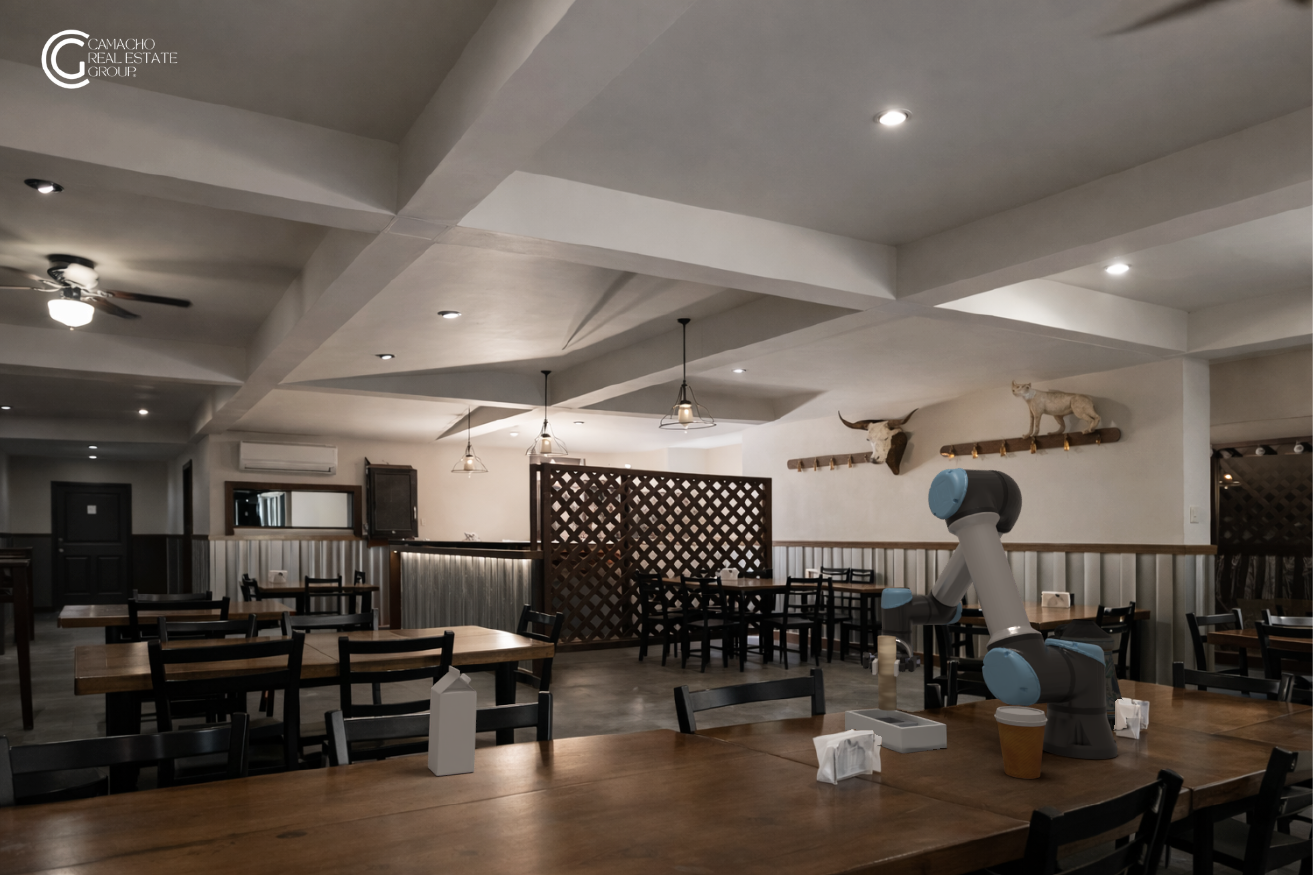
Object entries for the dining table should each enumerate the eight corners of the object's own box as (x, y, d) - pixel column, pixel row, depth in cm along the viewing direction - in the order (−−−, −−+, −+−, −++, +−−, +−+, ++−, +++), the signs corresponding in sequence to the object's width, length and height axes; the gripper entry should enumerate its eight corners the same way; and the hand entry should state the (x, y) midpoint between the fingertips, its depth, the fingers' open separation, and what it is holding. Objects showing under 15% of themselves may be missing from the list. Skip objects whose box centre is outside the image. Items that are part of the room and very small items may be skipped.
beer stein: (1126, 734, 211) (1122, 625, 213) (1037, 724, 221) (1033, 620, 223) (1130, 721, 225) (1126, 619, 228) (1046, 712, 235) (1043, 615, 237)
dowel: (900, 709, 203) (899, 637, 204) (885, 711, 201) (885, 638, 203) (889, 706, 206) (888, 635, 208) (874, 707, 205) (874, 635, 206)
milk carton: (436, 777, 167) (440, 671, 169) (427, 767, 173) (431, 666, 175) (474, 772, 170) (477, 669, 172) (464, 763, 177) (467, 664, 178)
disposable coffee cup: (1057, 781, 169) (1055, 715, 170) (1006, 780, 169) (1004, 714, 170) (1037, 768, 178) (1035, 706, 180) (988, 767, 179) (987, 705, 180)
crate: (946, 748, 194) (946, 724, 195) (901, 753, 189) (901, 728, 190) (887, 729, 212) (887, 707, 213) (845, 733, 208) (844, 710, 208)
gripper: (930, 673, 218) (925, 689, 196) (858, 668, 224) (845, 683, 202) (929, 641, 219) (924, 654, 197) (858, 637, 225) (845, 649, 203)
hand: (884, 669), depth 200 cm, fingers closed on dowel, 4 cm apart
